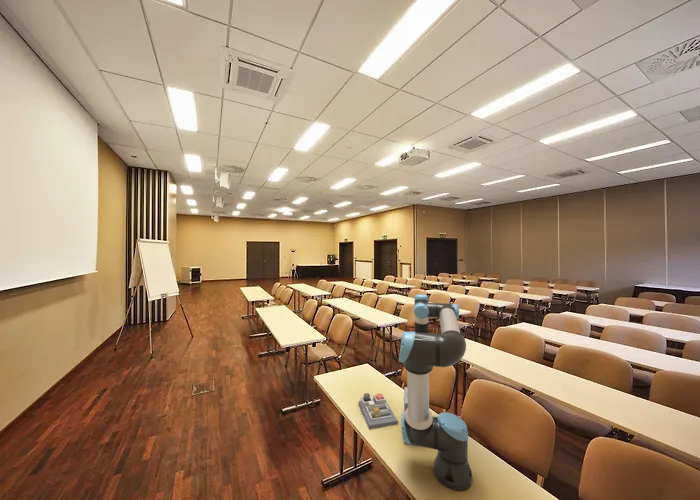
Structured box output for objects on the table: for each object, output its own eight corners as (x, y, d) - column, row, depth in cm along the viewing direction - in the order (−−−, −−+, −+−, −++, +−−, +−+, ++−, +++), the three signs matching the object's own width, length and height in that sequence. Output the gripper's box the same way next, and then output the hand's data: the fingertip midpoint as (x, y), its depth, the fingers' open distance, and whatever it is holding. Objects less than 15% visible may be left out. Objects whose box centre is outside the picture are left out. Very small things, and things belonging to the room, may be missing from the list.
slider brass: (379, 417, 144) (379, 410, 144) (374, 418, 143) (374, 411, 143) (378, 414, 147) (377, 406, 147) (372, 414, 146) (372, 407, 146)
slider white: (374, 410, 150) (374, 403, 150) (369, 411, 149) (369, 404, 149) (373, 407, 153) (373, 400, 153) (368, 408, 152) (368, 401, 152)
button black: (370, 401, 155) (370, 396, 155) (364, 402, 154) (364, 397, 154) (368, 398, 159) (368, 392, 158) (363, 398, 158) (363, 393, 158)
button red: (383, 401, 157) (383, 396, 157) (377, 402, 156) (377, 397, 156) (381, 398, 160) (381, 393, 160) (375, 399, 160) (375, 394, 160)
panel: (397, 424, 142) (397, 415, 142) (369, 429, 138) (369, 419, 138) (383, 400, 163) (383, 392, 163) (358, 404, 160) (358, 396, 159)
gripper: (428, 319, 153) (428, 359, 154) (407, 321, 150) (407, 362, 151) (435, 323, 146) (435, 365, 146) (413, 325, 143) (413, 368, 143)
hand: (421, 363), depth 149 cm, fingers closed
